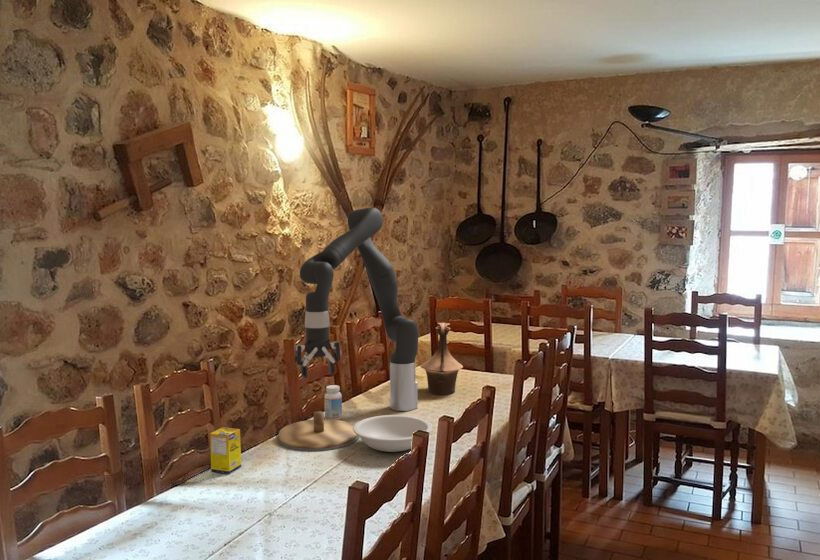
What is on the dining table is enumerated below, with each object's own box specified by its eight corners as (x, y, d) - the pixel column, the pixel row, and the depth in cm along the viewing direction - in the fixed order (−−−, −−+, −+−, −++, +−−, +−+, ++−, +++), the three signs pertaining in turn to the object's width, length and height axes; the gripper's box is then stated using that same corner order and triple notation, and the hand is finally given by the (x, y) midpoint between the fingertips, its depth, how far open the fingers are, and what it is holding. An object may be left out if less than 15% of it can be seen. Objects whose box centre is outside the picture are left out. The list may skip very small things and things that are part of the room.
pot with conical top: (464, 397, 255) (464, 326, 253) (420, 397, 256) (420, 326, 253) (461, 386, 273) (462, 319, 270) (420, 385, 273) (420, 319, 270)
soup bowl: (444, 441, 206) (444, 420, 205) (412, 467, 184) (412, 444, 184) (376, 430, 216) (376, 411, 216) (338, 454, 194) (337, 432, 194)
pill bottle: (343, 415, 232) (343, 384, 231) (340, 421, 226) (339, 389, 225) (326, 415, 233) (326, 384, 232) (322, 420, 227) (322, 388, 226)
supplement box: (241, 466, 185) (240, 428, 184) (229, 474, 179) (228, 435, 178) (223, 464, 187) (222, 426, 186) (210, 471, 181) (209, 433, 180)
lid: (341, 418, 227) (340, 398, 226) (370, 440, 205) (370, 417, 204) (269, 429, 215) (269, 407, 215) (292, 453, 193) (292, 429, 193)
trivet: (341, 419, 228) (341, 418, 228) (372, 442, 205) (372, 440, 205) (267, 431, 216) (267, 429, 216) (291, 456, 193) (291, 454, 193)
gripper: (334, 321, 213) (334, 371, 215) (291, 325, 207) (292, 375, 208) (342, 325, 207) (343, 376, 208) (299, 328, 200) (299, 381, 202)
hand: (317, 375), depth 208 cm, fingers open, 8 cm apart
